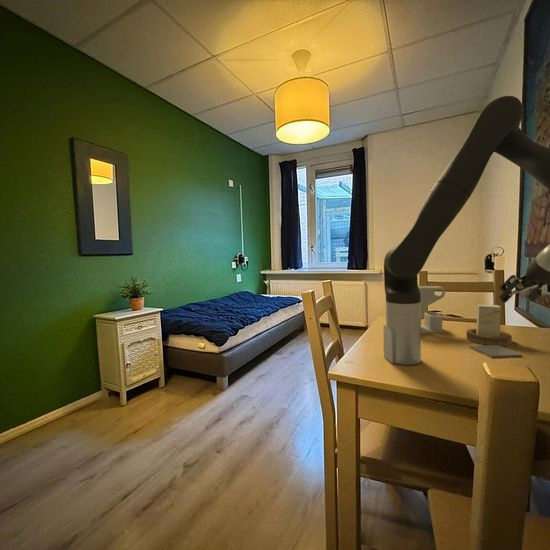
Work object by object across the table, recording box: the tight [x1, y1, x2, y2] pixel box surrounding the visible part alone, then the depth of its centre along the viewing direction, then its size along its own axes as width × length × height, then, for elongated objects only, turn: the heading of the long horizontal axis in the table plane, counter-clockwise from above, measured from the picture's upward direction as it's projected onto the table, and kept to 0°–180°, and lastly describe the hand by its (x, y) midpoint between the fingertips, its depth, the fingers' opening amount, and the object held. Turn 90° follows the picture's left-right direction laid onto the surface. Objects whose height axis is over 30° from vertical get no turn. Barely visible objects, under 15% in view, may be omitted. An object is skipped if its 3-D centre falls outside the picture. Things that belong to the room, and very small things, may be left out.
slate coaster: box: [469, 344, 523, 358], centre depth 88 cm, size 9×9×1 cm
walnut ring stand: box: [466, 328, 513, 347], centre depth 100 cm, size 12×12×2 cm
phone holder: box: [418, 285, 446, 334], centre depth 116 cm, size 17×10×18 cm, turn 81°
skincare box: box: [476, 304, 502, 337], centre depth 99 cm, size 6×4×12 cm
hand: (516, 299), depth 87 cm, fingers open, 8 cm apart
